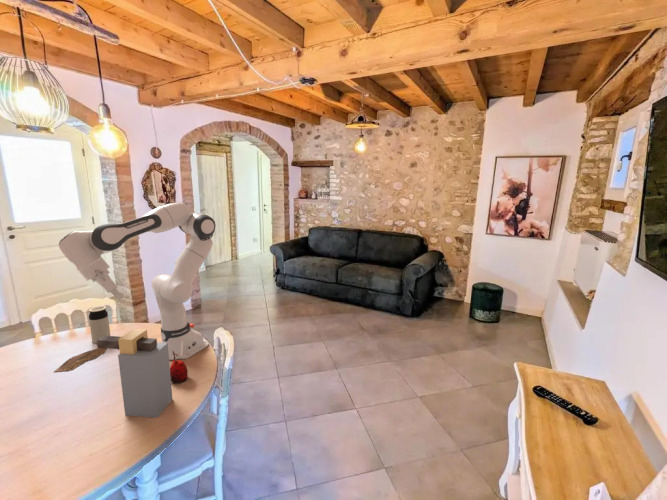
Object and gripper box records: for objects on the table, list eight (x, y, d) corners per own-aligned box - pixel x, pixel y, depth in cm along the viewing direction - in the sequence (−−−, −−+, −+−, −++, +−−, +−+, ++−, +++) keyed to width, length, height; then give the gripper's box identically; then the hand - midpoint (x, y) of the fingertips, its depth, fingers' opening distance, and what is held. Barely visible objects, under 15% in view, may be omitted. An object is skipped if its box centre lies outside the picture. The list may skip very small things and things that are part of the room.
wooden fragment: (63, 375, 140) (63, 373, 139) (45, 370, 143) (45, 368, 143) (118, 347, 164) (118, 346, 164) (102, 344, 167) (102, 342, 167)
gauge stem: (97, 347, 116) (96, 340, 115) (105, 343, 119) (104, 335, 118) (151, 351, 114) (150, 343, 114) (157, 346, 118) (156, 338, 117)
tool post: (125, 415, 117) (116, 340, 111) (143, 397, 126) (135, 327, 120) (157, 417, 116) (149, 342, 110) (172, 399, 126) (166, 329, 120)
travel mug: (112, 340, 171) (108, 308, 167) (94, 345, 165) (90, 312, 161) (108, 335, 176) (104, 304, 172) (90, 340, 170) (86, 308, 166)
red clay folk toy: (191, 376, 141) (189, 345, 138) (180, 386, 134) (178, 353, 131) (177, 373, 143) (174, 342, 139) (165, 383, 136) (162, 350, 133)
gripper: (105, 265, 119) (130, 294, 123) (103, 265, 135) (125, 291, 139) (87, 275, 115) (113, 305, 120) (87, 274, 132) (110, 300, 136)
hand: (119, 298), depth 130 cm, fingers open, 8 cm apart
